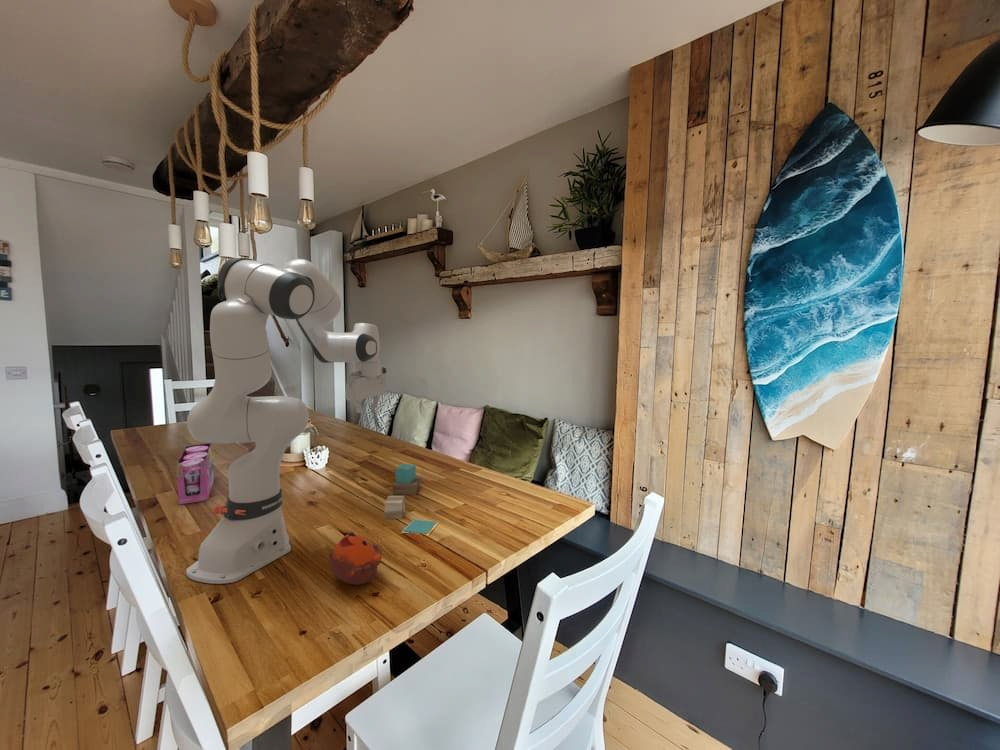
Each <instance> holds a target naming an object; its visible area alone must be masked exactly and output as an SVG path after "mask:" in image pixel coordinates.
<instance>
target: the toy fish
mask: <svg viewBox="0 0 1000 750" xmlns="http://www.w3.org/2000/svg"><path fill="white" fill-rule="evenodd" d="M328 558H329V560H328V561H329V566H330V569H331V570H330V571H332V573H333V574H334V575H335V577H337V579H339V580H340V581H342V582H344V583H346V584H351V585H355V586H356V585H357V586H358V585H359V586H361V585H365V584H366V583H369V582H371V581H372V580H374V579H375V577H376V576H377V573H378V566H379V565H380V564H381V560H382V559H383V555H382V553H381V550H380V548H379V546H378V545H377V544H374V543H372V542H370V541H369V540H368V539H367V538H365V537H363V536H361V535H359V534H355V533H354V532H349V533H347V534H346V535H344V536H343V537H342V538H341V539H340V540H338V542H337V543H336V545H335V547H334V549H331V550H330V552H329V556H328Z"/></svg>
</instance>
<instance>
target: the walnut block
mask: <svg viewBox="0 0 1000 750" xmlns="http://www.w3.org/2000/svg"><path fill="white" fill-rule="evenodd" d="M420 488H421V476H417V475H416V479H415V480H413V481H412V482H411V483H409V484H405V483H398V482H396V479H395V480H394V482H393V483H392V496H417V495H418V493H419V490H420ZM416 494H417V495H416Z"/></svg>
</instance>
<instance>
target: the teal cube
mask: <svg viewBox="0 0 1000 750" xmlns="http://www.w3.org/2000/svg"><path fill="white" fill-rule="evenodd" d="M416 471H417V469H416V464H408V463H401V464H400V465H399V466H397V467H395V480H396V482H398V483H405V484H409V483H411V482H412V481H413V480H415V479H416V476H417V472H416Z"/></svg>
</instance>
